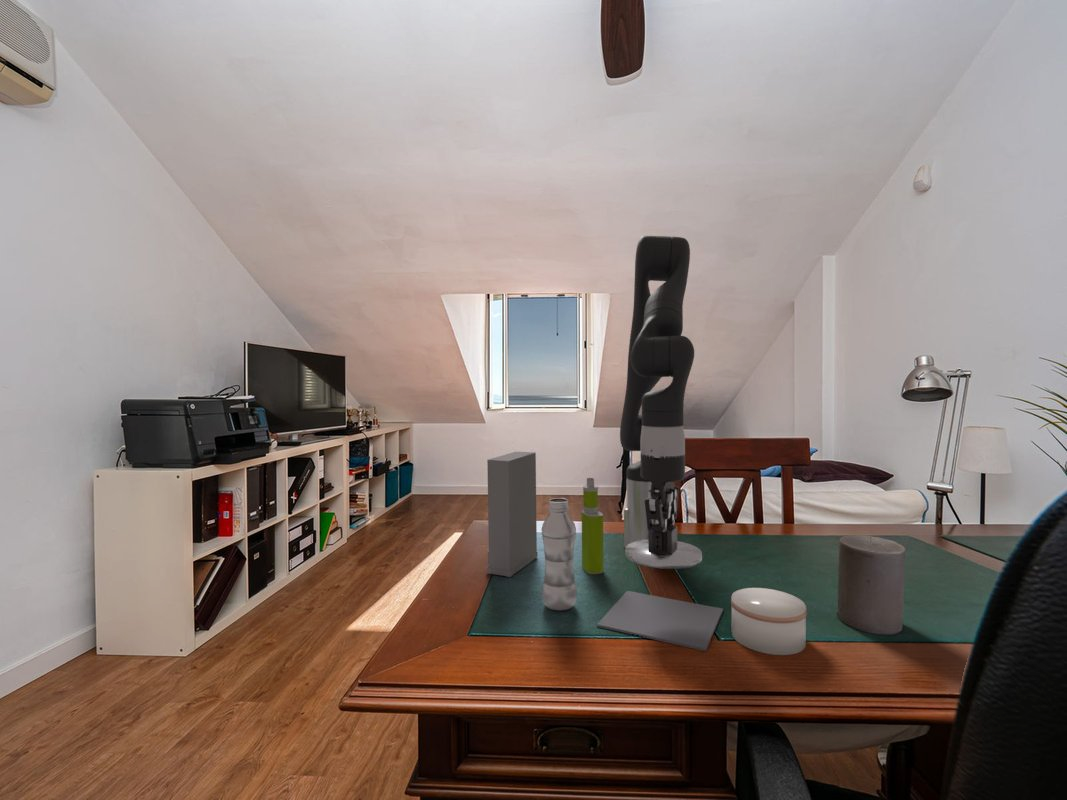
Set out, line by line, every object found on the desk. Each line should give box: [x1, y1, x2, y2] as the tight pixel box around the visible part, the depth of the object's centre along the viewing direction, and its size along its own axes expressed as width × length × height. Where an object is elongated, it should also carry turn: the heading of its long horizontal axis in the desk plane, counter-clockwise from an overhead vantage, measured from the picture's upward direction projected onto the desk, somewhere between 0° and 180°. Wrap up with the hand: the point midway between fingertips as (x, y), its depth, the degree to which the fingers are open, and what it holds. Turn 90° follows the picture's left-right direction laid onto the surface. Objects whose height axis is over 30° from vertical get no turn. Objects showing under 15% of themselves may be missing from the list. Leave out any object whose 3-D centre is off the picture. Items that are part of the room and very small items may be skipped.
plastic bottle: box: [541, 497, 578, 611], centre depth 99 cm, size 6×7×20 cm
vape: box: [581, 477, 604, 575], centre depth 118 cm, size 4×6×20 cm, turn 14°
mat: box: [596, 590, 724, 652], centre depth 94 cm, size 18×16×1 cm
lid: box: [624, 525, 703, 570], centre depth 94 cm, size 13×13×5 cm
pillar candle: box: [836, 534, 906, 635], centre depth 92 cm, size 10×10×15 cm
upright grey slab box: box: [485, 451, 539, 578], centre depth 121 cm, size 14×6×25 cm, turn 155°
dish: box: [730, 587, 808, 656], centre depth 87 cm, size 11×11×6 cm
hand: (662, 549), depth 94 cm, fingers closed on lid, 4 cm apart
